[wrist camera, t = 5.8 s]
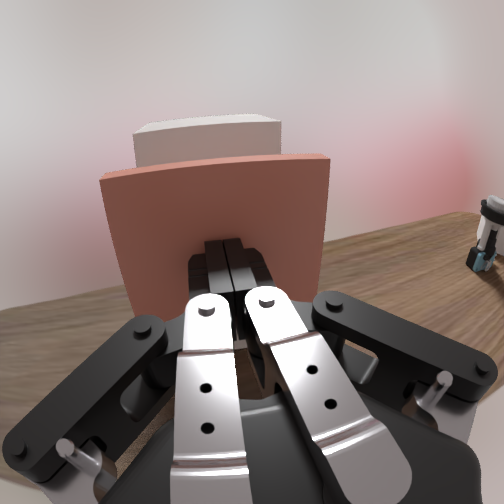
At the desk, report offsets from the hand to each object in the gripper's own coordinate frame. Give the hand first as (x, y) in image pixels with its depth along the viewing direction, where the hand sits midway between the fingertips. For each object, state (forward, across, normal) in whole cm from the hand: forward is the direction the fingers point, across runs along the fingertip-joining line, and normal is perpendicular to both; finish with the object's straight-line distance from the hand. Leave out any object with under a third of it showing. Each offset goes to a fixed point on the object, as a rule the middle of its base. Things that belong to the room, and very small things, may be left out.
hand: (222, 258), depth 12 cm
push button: (+9, -36, +12) cm, 39 cm away
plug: (+4, 0, +4) cm, 5 cm away
